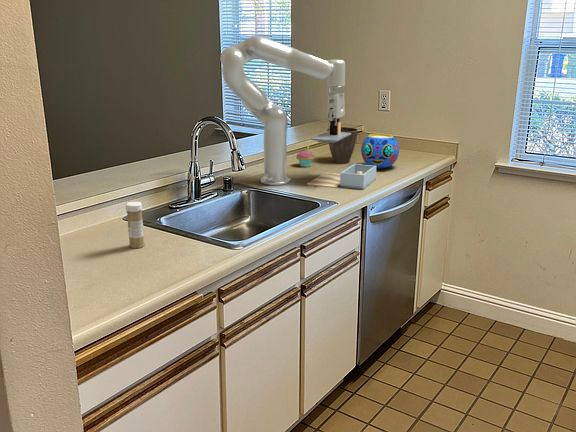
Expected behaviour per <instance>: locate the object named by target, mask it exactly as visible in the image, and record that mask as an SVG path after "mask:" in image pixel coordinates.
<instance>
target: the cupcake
mask: <svg viewBox="0 0 576 432" xmlns="http://www.w3.org/2000/svg"><path fill="white" fill-rule="evenodd" d="M309 148H310V142H308V143H307V147H306V150H301V151H299V152H298V153H297V154H296V156H295V158H296V160H298V163H299V165H300V167H301V168H302V167H303V168H309V167H311V166H312V163H313V160H314V159H315V155H314V153H313V152H312V151H309Z"/></svg>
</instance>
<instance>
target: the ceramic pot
mask: <svg viewBox="0 0 576 432" xmlns="http://www.w3.org/2000/svg"><path fill="white" fill-rule="evenodd" d="M360 152H361V157H362V160H363V162H364V163H365V165H372V166H376V169H386V168H389V167H391V166H393V165H394V164H395V163H396V161H397V160H398V157H399V153H400V146H399V142H398V140H397V139H396V138H395V136H394V135H392V134H387V133H372V134H368V135H367V136H366V137H365V138H364V140H363V141H362V144H361V148H360Z"/></svg>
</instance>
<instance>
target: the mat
mask: <svg viewBox="0 0 576 432" xmlns="http://www.w3.org/2000/svg"><path fill="white" fill-rule="evenodd" d="M306 185H307V186H316V187H326V188H335V189H336V188H338V187H340V173H333V172H327V171H326V172H325V171H324V173H322V174H320V175H319V176H317V177H315V178H313V179H312V180H311V181H309V182H307V183H306Z"/></svg>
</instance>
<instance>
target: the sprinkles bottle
mask: <svg viewBox="0 0 576 432" xmlns="http://www.w3.org/2000/svg"><path fill="white" fill-rule="evenodd" d="M125 210H126V215H127V216H126V218H127V226H128V227H127V229H128V231H127V232H128V238H129V247H130V248H132V249H138V248H139V249H140V248H144V246H145V237H144V236H145V232H144V222H143V221H144V220H143V213H142V212H143V211H142V210H143V205H142V202H140V201H129V202H126V203H125Z"/></svg>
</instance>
